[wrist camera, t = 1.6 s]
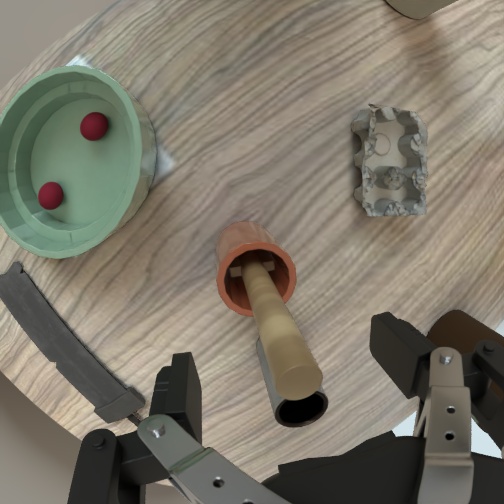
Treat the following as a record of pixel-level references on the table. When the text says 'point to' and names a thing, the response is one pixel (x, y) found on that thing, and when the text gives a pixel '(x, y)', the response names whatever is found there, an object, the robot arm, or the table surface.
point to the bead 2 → (94, 126)
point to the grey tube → (292, 410)
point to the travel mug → (419, 7)
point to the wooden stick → (277, 328)
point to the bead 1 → (50, 195)
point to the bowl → (72, 161)
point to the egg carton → (391, 161)
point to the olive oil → (463, 338)
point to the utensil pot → (238, 242)
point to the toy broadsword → (66, 349)
